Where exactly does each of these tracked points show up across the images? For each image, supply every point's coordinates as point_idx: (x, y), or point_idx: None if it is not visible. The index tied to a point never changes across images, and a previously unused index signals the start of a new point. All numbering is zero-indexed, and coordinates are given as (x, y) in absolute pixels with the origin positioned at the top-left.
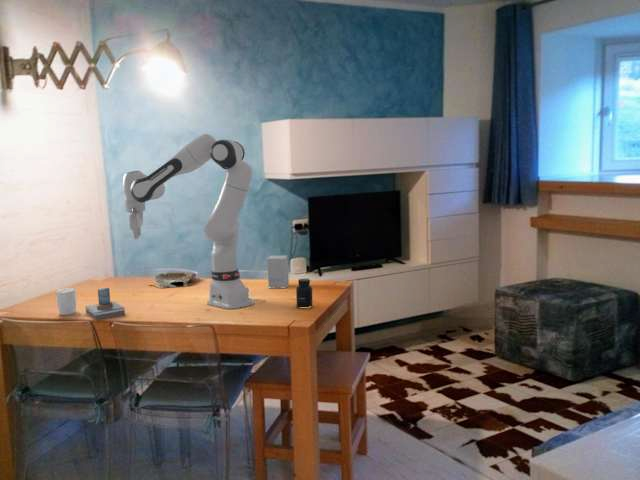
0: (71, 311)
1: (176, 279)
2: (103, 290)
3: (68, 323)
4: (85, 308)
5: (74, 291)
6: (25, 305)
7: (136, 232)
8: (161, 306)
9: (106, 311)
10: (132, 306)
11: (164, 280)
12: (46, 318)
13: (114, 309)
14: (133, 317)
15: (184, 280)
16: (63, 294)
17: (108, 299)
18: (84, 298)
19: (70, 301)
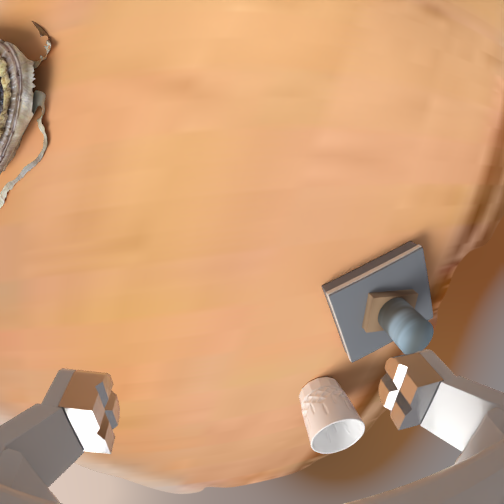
0: (338, 384)
1: (13, 91)
2: (432, 332)
3: None
4: (349, 359)
5: (350, 416)
6: (201, 473)
7: (490, 405)
8: (360, 125)
9: (428, 292)
10: (322, 228)
11: (14, 139)
12: None
13: (426, 273)
14: (444, 213)
15: (25, 58)
16: (361, 428)
17: (411, 306)
18: (151, 390)
19: (351, 403)
